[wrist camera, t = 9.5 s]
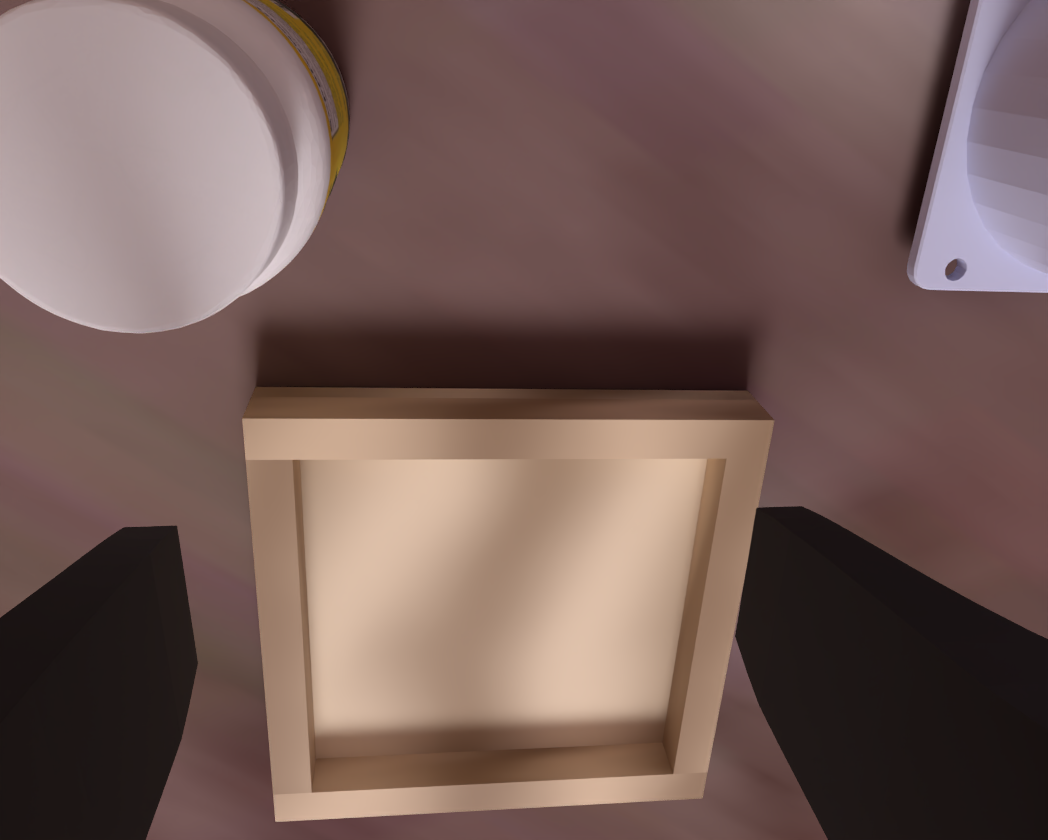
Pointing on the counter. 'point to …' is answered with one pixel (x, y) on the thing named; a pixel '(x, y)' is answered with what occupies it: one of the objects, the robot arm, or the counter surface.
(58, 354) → the counter surface
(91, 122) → the supplement bottle
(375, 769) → the tray
